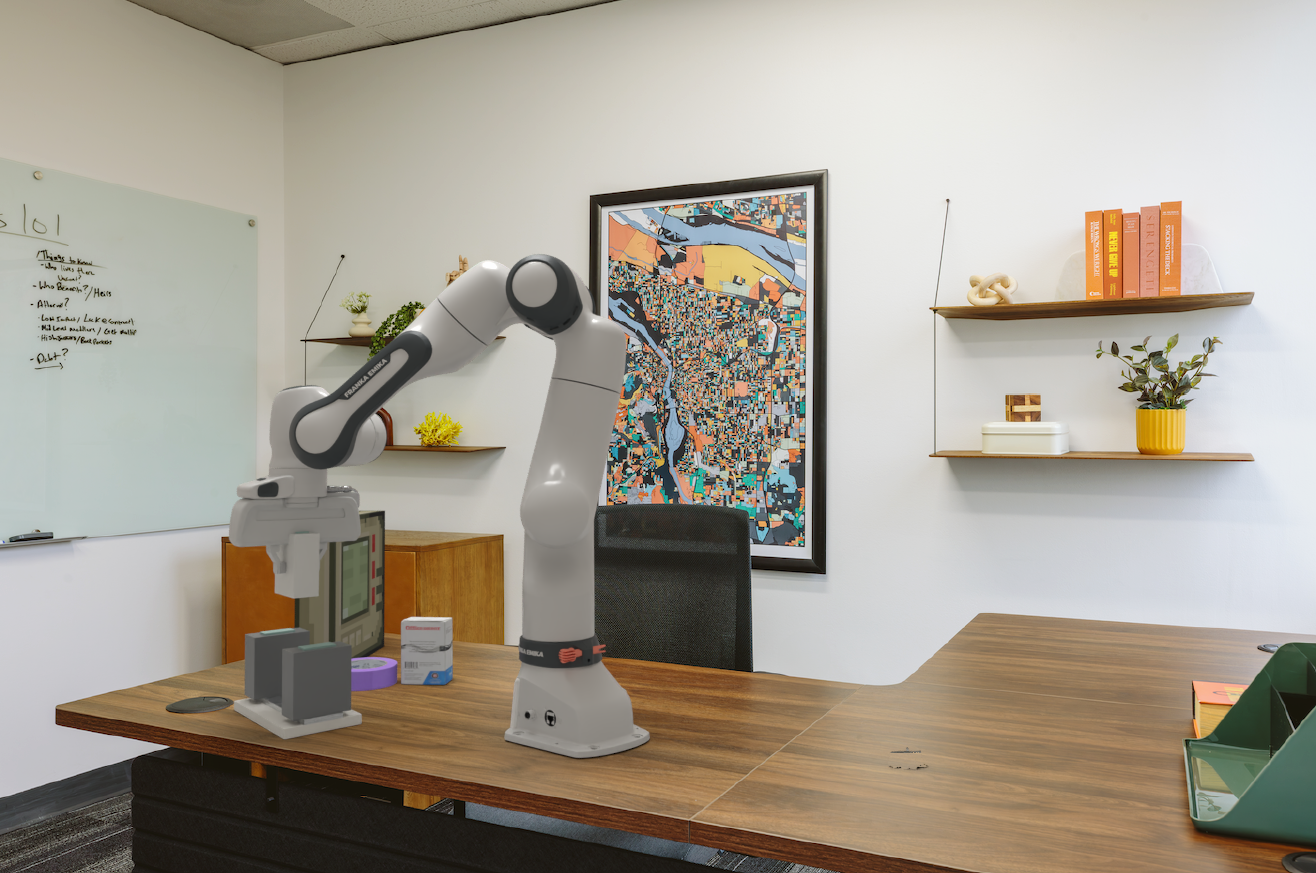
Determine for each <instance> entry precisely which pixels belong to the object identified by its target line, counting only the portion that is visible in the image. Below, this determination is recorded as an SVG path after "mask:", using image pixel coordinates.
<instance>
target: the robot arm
mask: <svg viewBox="0 0 1316 873" xmlns="http://www.w3.org/2000/svg"><path fill="white" fill-rule="evenodd" d="M516 324H517V325H518V324H523V325H524V326H525V327H526V328H528V329H530V330H532V331H534V332H536V333H538V334H539V335H541V336H543V337H545V338H546V339H549V340H551V341H554V344H555V358H554V359H555V360H554V364H553V365H554V366H553V368H552V372H551V373H552V374H551V378H550V382H549V386H548V391H547V393H546V394H547V395H546V400H545V404H544V407H543V413H542V417H541V422H540V426H539V430H538V434H537V438H536V441H535V445H534V449H533V452H532V457H531V461H530V465H529V469H528V472H527V478H526V482H525V486H524V488H523V492H522V493H523V494H522V498H521V502H520V507H519V517H520V522H521V524H522V528H523V529H524V531H523V532H524V537H523V539H524V541H523V564H522V582H521V583H522V585H521V586H522V588H521V589H522V591H521V598H522V602H521V603H522V604H521V606H522V607H521V609H522V610H521V615H522V616H521V620H522V622H521V623H522V624H521V627H522V629H521V635H520V636H519V644H518V649H517V650H518V660H519V661H520V663H521V664H520V669H519V672H518V674H517V676H516V678H515V680H514V683H513V693H512V703H511V704H512V705H511V712H510V713H511V716H510V725H509V728H507V729H506V730H505V732H504V740H505V741H506V742H507V741H509V742H512V743H515V744H520V745H523V746H526V747H527V746H528V747H531V748H535V749H538V750H539V749H540V750H543V751H548V752H552V753H555V754H559V755H564V756H568V757H572V758H577V759H578V758H579V759H580V758H581V759H582V758H592V757H593V758H594V757H599V756H600V757H601V756H606V755H611V754H614V753H615V754H616V753H619V752H623V751H626V750H629V749H630V750H631V749H632V748H633V749H634V748H637V747H638V746H640V745H642V744H645V743H647V742H648V741H650V739H651V738H650V737H651V736H650V732H649V731H647V730H646V729H645V728H642V727H641V726H639V725H636V724H634V713H633V706H632V705H633V704H632V699H631V697H630V695H629V694H628V691H627V690H626V688H623V687H622V686H621V685H620V683H619V682H618V681H617V679H616V678H615V677H614V676H613V675H612V673H611V672H610V671H609V669H608V668H607V667H606V666H605V665H604V663H603V662H602V660H603V655H602V653H606V650H602V649H604V648H605V647H606V644H600V642H599V639H598V636H597V634H596V633H595V548H594V547H595V516H596V511H597V508H598V503H599V498H600V492H601V488H602V484H603V478H604V475H605V474H604V473H605V468H606V463H607V459H608V453H609V449H610V445H611V440H612V435H613V430H614V425H615V422H616V417H617V412H618V408H619V405H620V399H621V393H622V389H623V384H624V379H625V378H624V377H625V371H626V370H625V369H626V361H627V360H626V358H627V336H626V333H625V331H624V330H623V328H622V327H621V326H620V325H619V324H618V323H616V322H615V321H613V320H611V319H610V318H607V317H605V316H601V315H598V314H596V302H595V299H594V296H593V293H592V292H591V290H590V289H589V288H588V286H587V285H585V283H584V280H582V278H581V277H580V275H579V274H578V273H577V272H576V271H574V269H572V268H571V267H569V265H567V264H566V263H565V262H564V261H563V260H561V259H559V258H558V257H555V256H552V255H549V254H542V253H541V254H540V253H537V254H535V253H534V254H531V255H527V256H525V257H523V258H521V259H519V261H517V262H516V263H515V264H514V265H513V266H512V268H509V267H508V266H507V265H505V264H503V263H501V262H499V261H496V260H492V259H485V260H482V261H479V262H477V263H476V264H475V265H473V266H472V267H470V268H469V269H468V270H466V271H464V273H462V274H461V275H460V276H458V277H457V278H456V279H454V280H453V281H452V282H451V283H450V284H448V285H447V286H446V287H445V288H444V290H442V291H441V292H440V293H439V294H438V295H437V296H436V297H435V299H434V300H432V301H431V302H430V303H429V304H428V305H427V306H426V307H425V309H424V310H423V311H422V312H421V313H420V314H419V315H417V317H416V318H415V319H414V320H413V321H412V322H411V323H410V324H409V325H408V326H406V328H405V329H403V330H402V331H401V332H400V333H399V334H398V335H397V336H395V338H393V340H391V342H389V343H387V344H386V345H385V346H384V347H383V348H382V349H380V350H379V351H377V353H376V354H375V355H373V357H372V358H370V359H369V360H367V362H366V363H365V364H363V365H362V366H361V367H360V368H359V369H358V370H356V372H355V373H354V374H352V375H351V377H349V378H348V379H347V380H346V381H344V383H342V384H341V385H340V386H339V387H338V388H337V389H336V390H334V391H333V392H332V393H329V392H328V391H327V389H325V388H324V387H322V386H319V385H316V384H315V385H314V384H311V385H308V384H306V385H296V386H291V387H286V388H283V389H282V390H280V391H278V393H276V394H275V396H274V398H273V401H272V405H271V412H270V419H269V420H270V421H269V422H270V423H269V445H270V448H271V458H270V461H269V463H268V475H266V476H263V477H259V478H256V479H253V480H250V481H246V482H243V483H240V484H238V485H237V487H236V495H237V497H238V498H240V499H238V500H237V501H236V502H235V503H234V504H233V506H232V509H231V514H230V518H229V526H228V528H229V530H228V540H229V542H230V543H231V544H232V545H233V546H234V547H238V548H245V547H246V548H247V547H248V548H249V547H265V552H266V555H268V557H269V558H270V560H271V562H272V568H273V569H272V571H273V574H274V575H275V574H282V573H286V563H287V562H283V561H282V562H281V561H280V559H279V557H278V555H277V553H276V552H279V551H280V545H287V544H289V534H292V533H296V532H302V531H309V533H313V532H315V533H320V544H319V570H320V560H321V559H322V557H323V555H324V554H325V552H326V550H327V542H341V541H356V540H357V539H358V537H359V536H360V534H361V528H360V516H359V511H360V510H359V508H360V506H361V504H360V503H361V502H360V501H361V497H360V493H359V491H358V490H357V489H356V488H353V487H352V486H351V485H341V486H340V485H328V469H332V468H338V467H339V468H340V467H341V468H342V467H343V468H345V467H358V466H360V467H361V466H363V465H366V464H369V463H371V462H374V461H375V460H377V459H378V458H379V457H381V455H382V454H383V453H384V450H385V448H386V445H387V441H388V432H387V428H386V426H385V423H384V421H383V420H382V418H381V417H380V416H379V415H378V414H377V412H378V411H379V410H381V409H382V408H383V407H384V406H385V405H386V404H387V403H388V402H389V401H391V399H393V398H394V397H395V396H396V395H397V394H398V393H399V392H400V391H402V390H403V389H405V388H406V387H407V386H409V385H411V384H413V383H416V382H417V381H420V380H423V379H426V378H430V377H436V376H441V375H447V374H452V373H455V372H458V371H460V370H462V368H464V367H465V366H467V365H468V364H470V363H471V362H473V361H474V360H475V359H476V358H478V357H479V356H480V355H481V354H482V353H483V352H484V351H485V350H486V349H487V348H488V347H489V346H490V345H491V344H492V343H493V342H494V341H495V340H496V338H497V337H498V336H499V335H501V334H502V332H504V330H506V329H507V328H509V327H511V326H514V325H516Z"/></svg>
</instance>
